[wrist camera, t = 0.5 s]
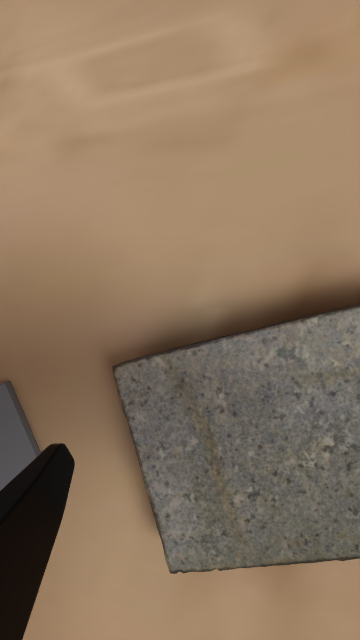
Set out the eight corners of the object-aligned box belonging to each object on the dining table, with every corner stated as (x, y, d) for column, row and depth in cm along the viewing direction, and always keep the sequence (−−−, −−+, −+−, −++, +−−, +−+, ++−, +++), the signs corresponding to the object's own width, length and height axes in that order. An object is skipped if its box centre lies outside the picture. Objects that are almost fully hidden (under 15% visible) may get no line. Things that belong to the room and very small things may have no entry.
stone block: (136, 357, 25) (107, 365, 20) (416, 288, 21) (465, 277, 16) (178, 537, 24) (159, 591, 19) (481, 502, 20) (554, 559, 15)
